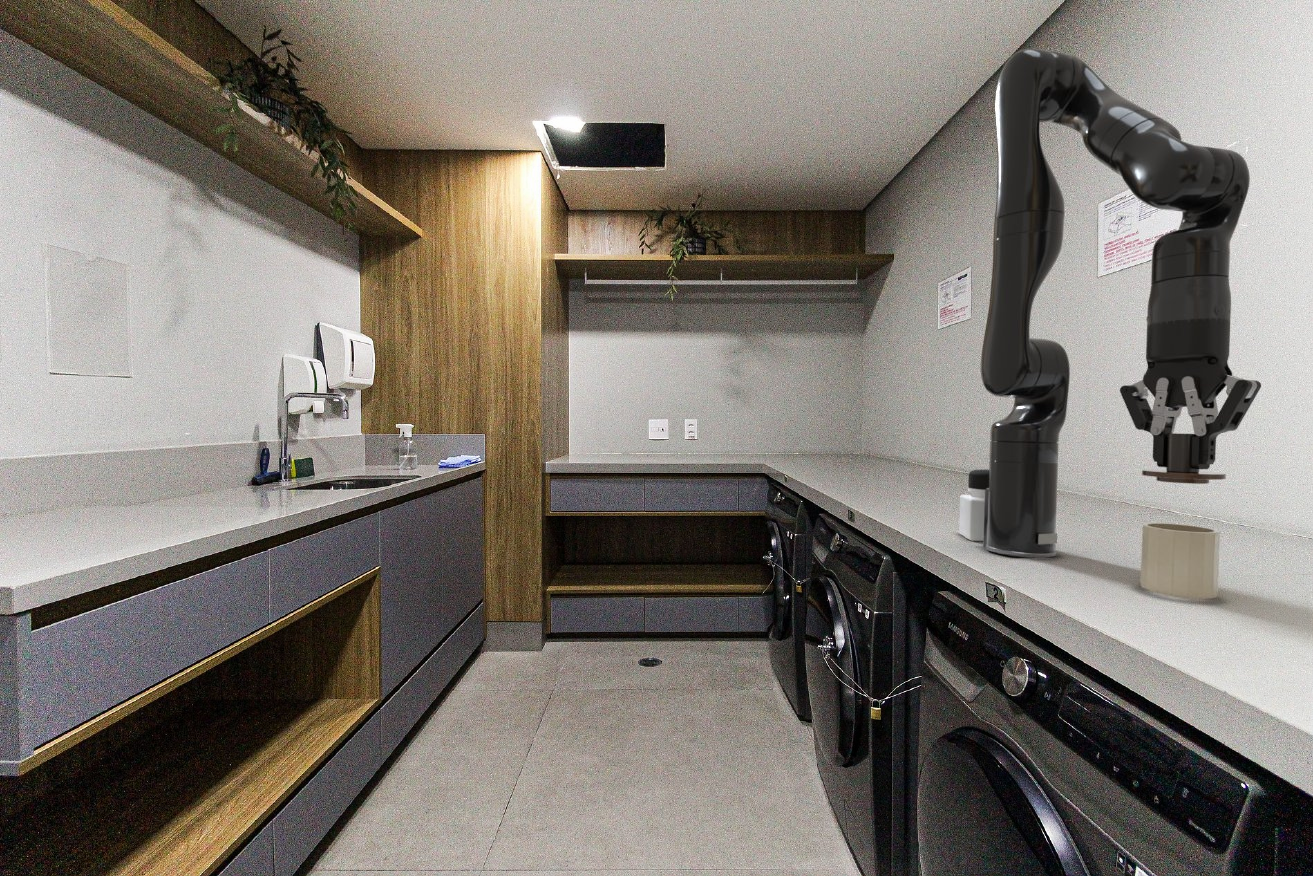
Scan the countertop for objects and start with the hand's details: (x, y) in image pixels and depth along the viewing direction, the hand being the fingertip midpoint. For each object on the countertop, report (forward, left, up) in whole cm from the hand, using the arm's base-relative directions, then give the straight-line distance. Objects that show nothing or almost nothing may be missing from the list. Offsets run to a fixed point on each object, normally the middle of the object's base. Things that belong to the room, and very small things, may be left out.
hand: (1182, 467), depth 75 cm
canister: (0, 0, -15) cm, 15 cm away
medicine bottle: (-36, +1, -15) cm, 39 cm away
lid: (0, 0, -1) cm, 1 cm away
